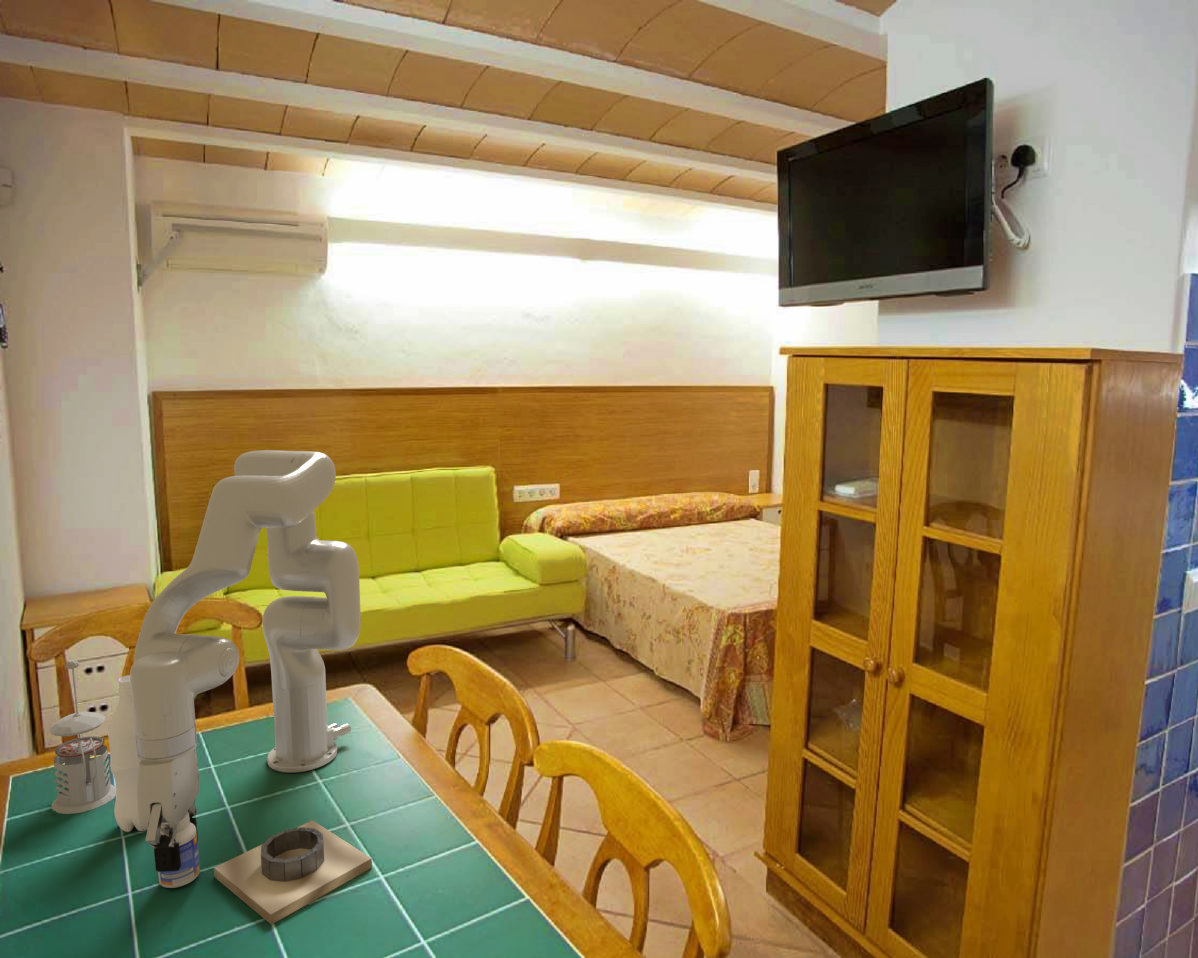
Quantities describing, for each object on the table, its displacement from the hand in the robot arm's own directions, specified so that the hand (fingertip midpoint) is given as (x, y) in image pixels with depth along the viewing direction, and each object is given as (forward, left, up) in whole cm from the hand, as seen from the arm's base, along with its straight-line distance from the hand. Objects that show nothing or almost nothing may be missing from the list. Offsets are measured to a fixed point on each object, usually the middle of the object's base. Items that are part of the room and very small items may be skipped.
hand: (177, 855), depth 117 cm
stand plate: (-12, +11, -4) cm, 17 cm away
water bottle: (-3, -20, -4) cm, 20 cm away
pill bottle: (0, 0, -4) cm, 4 cm away
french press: (0, -35, -4) cm, 35 cm away
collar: (-12, +11, -2) cm, 16 cm away
